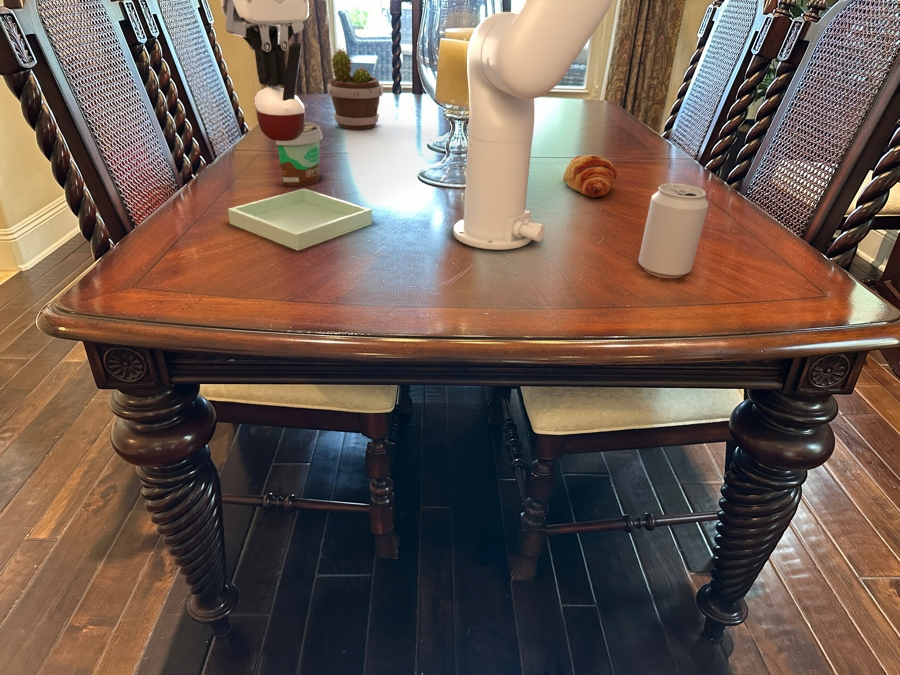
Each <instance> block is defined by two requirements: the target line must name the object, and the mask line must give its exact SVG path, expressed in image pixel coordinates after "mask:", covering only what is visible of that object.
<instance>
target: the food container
mask: <svg viewBox="0 0 900 675" xmlns="http://www.w3.org/2000/svg"><path fill="white" fill-rule="evenodd" d="M322 140H323V134H322V130H321V128H320V125H319V124H317V123H314V122H310V121H305V122H304V128H303V131H302V133H301V135H300V136H299V137H298V138H296V139H294V140H291V141H275V145H276V146H277V150H278V158H279V164H280V171H281V177H282V184H283V186H284V187H285V186H286V187H301V186H308V185H312V184H315V183H317V182H319V180H320V141H322Z"/></svg>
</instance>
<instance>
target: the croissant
mask: <svg viewBox="0 0 900 675" xmlns="http://www.w3.org/2000/svg"><path fill="white" fill-rule="evenodd" d="M617 176H618V171H617V169H616V167H615V166H614V164H613V163H612V162H611V161H610V160H608V159H606V158H605V157H602V156H600V155H594V154H587V155H577V156H575V157H574V158H572V159H571V160H570V162H569V164H568V165H567V166H566V168H565V170H564V173H563V178H562V179H563V180H562V181H563V182H564V183H566V184H567V185H568V187H569V188H570V189H571V190H574V191H576V192H579V193H581V194H582V195H584V196H586V197H590V198H596V197H597V198H599V197H604V196H606V195H607V194H608V193H609V192H610V191H611V189H612V188H613V185H614V183H615V180H616V178H617Z"/></svg>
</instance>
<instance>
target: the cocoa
mask: <svg viewBox="0 0 900 675" xmlns="http://www.w3.org/2000/svg"><path fill="white" fill-rule="evenodd" d="M302 47H303V45H302V44H301V42H300V43H297V42H295V43H290V44H288V52H287V53H288V54H287V61H286V76H285V84H284V85H283V87H280V86H268V87H267V86H266V87H264V88H263V89H260V90H259V91H257V93H256V94H255V95H254V97H253V98H254V106H255V108H256V110H255V112H256V118H257V124H258V126H259V128H260V131H261V132H262V133H263V135H264V136H265V137H266V138H268V139H270V140H273V141H275V142H276V141H291V140H294V139H296V138H298V137H299V136H300V135H301V133H302V131H303V128H304V122H306V109H305V105H304V104H303V102H302V101H301V100H300V98H299V97H298V96H297V95H296V91H297V90H296V88H297V83H298V75H299V69H300V63H301V57H302V56H301V54H302Z"/></svg>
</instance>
